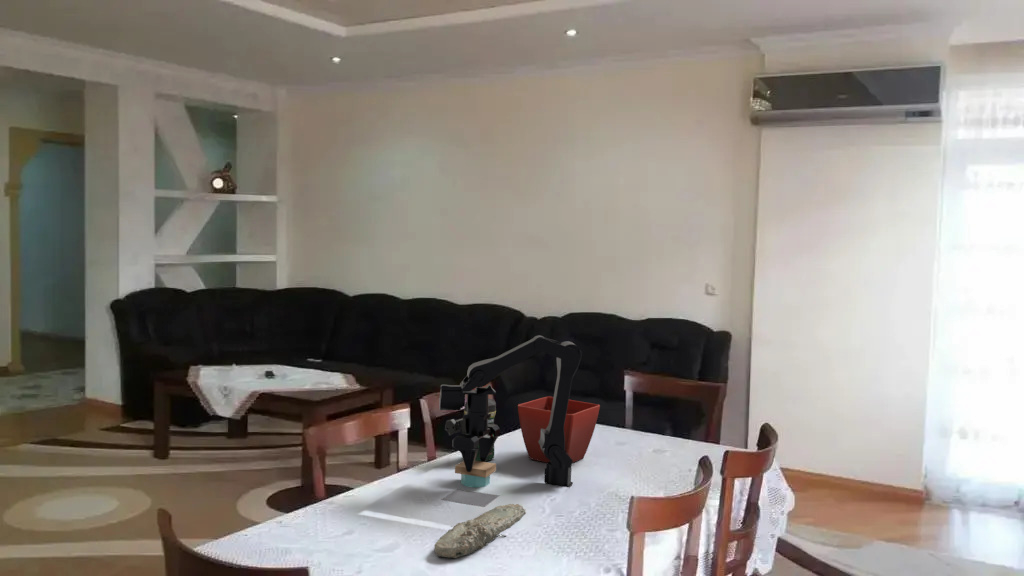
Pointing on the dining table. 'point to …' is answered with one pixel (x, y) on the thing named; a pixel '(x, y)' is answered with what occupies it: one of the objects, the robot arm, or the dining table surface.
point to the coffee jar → (490, 421)
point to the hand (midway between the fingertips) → (475, 467)
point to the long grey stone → (478, 531)
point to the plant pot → (575, 428)
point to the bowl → (474, 480)
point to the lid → (476, 469)
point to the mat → (470, 497)
